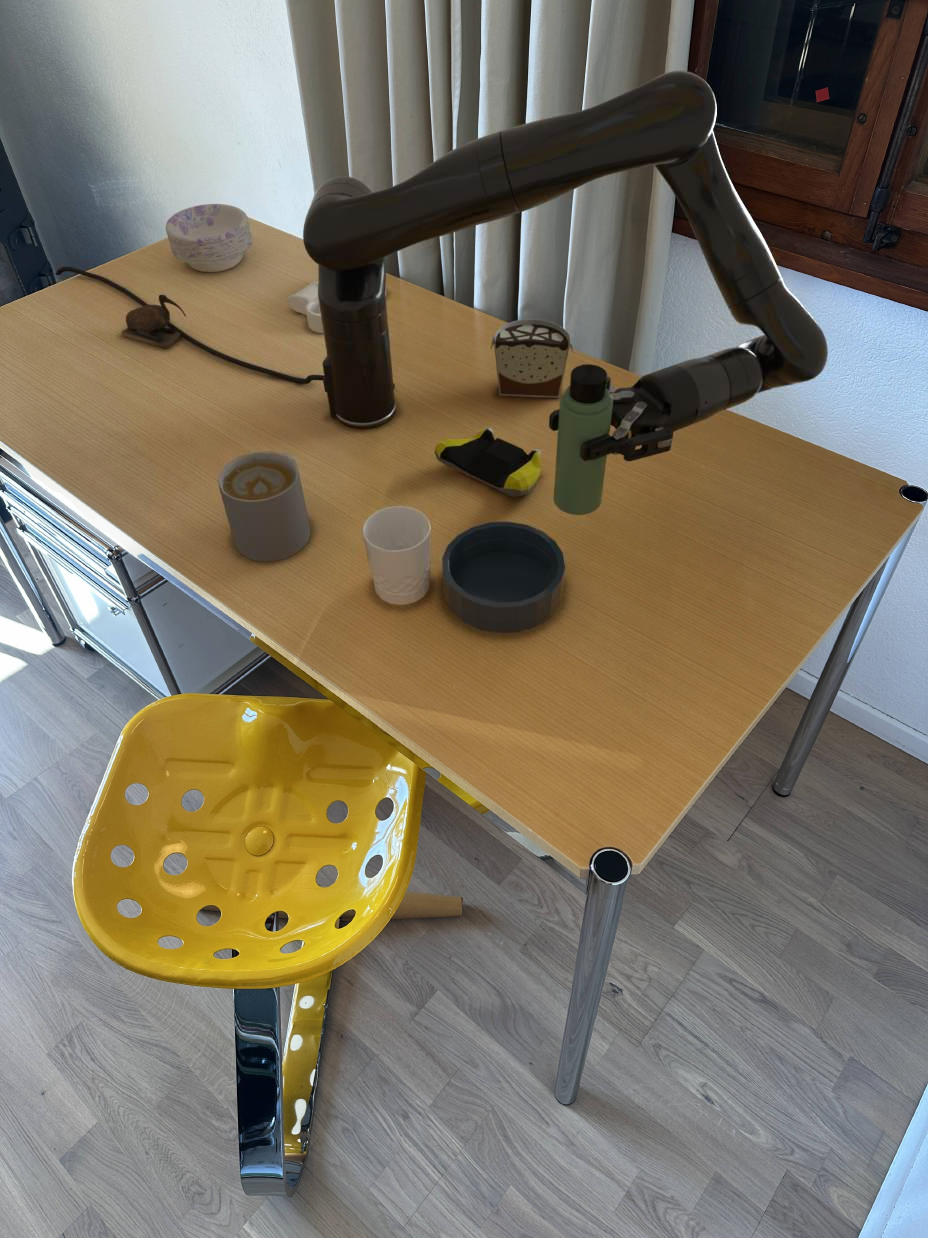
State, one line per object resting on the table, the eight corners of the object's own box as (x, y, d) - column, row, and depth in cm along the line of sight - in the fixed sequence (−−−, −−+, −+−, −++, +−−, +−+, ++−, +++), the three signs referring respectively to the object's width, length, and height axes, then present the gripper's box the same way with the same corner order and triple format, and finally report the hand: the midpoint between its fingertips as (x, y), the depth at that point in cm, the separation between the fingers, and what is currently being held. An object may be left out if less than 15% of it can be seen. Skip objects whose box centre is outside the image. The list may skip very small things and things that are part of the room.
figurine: (203, 342, 148) (190, 293, 142) (186, 355, 145) (172, 306, 139) (139, 324, 153) (124, 276, 146) (122, 336, 150) (105, 288, 143)
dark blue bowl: (429, 622, 104) (427, 593, 101) (461, 542, 114) (460, 513, 110) (548, 646, 102) (551, 617, 98) (571, 561, 111) (575, 532, 107)
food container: (569, 376, 139) (574, 318, 132) (569, 398, 135) (574, 339, 128) (492, 373, 140) (493, 315, 133) (489, 394, 136) (490, 336, 129)
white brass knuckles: (342, 276, 163) (404, 297, 157) (276, 317, 153) (340, 341, 148) (340, 258, 161) (403, 279, 155) (273, 299, 151) (338, 323, 145)
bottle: (549, 510, 108) (556, 385, 95) (558, 480, 112) (567, 356, 99) (597, 518, 107) (611, 392, 94) (604, 487, 111) (620, 362, 97)
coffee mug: (281, 571, 111) (266, 510, 103) (219, 546, 114) (200, 486, 106) (339, 509, 118) (329, 449, 111) (279, 488, 122) (266, 428, 114)
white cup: (370, 567, 111) (362, 507, 103) (432, 563, 111) (428, 503, 104) (371, 613, 105) (362, 553, 98) (436, 608, 106) (432, 548, 98)
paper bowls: (220, 287, 161) (209, 244, 155) (159, 268, 166) (147, 227, 160) (272, 253, 170) (264, 212, 164) (212, 237, 175) (203, 196, 169)
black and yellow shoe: (515, 518, 117) (557, 480, 122) (516, 486, 112) (560, 448, 118) (429, 476, 123) (472, 441, 128) (427, 444, 119) (472, 410, 124)
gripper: (650, 340, 108) (534, 379, 103) (726, 398, 99) (604, 443, 94) (642, 392, 113) (532, 432, 108) (714, 451, 105) (598, 497, 100)
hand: (566, 437), depth 101 cm, fingers closed on bottle, 6 cm apart
